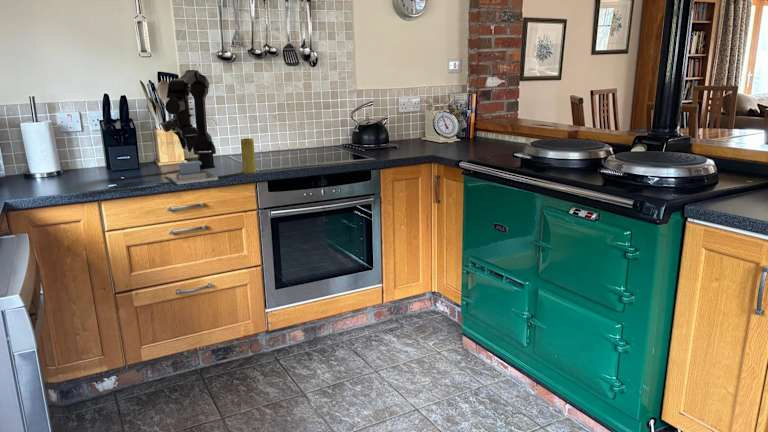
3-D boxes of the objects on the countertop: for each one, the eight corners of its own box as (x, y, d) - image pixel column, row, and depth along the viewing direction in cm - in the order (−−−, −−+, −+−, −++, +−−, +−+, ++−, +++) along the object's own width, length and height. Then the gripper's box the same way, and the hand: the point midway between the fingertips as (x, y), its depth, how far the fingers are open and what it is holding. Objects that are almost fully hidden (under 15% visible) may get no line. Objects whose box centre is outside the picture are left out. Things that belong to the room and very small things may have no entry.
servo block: (200, 175, 237) (198, 159, 235) (203, 176, 233) (201, 160, 232) (178, 177, 232) (176, 161, 230) (180, 179, 229) (178, 163, 227)
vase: (242, 174, 243) (239, 140, 239) (242, 171, 249) (239, 138, 245) (257, 173, 244) (254, 139, 241) (256, 170, 250) (253, 138, 246)
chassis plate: (204, 172, 248) (204, 166, 248) (218, 179, 232) (217, 172, 231) (166, 176, 240) (165, 170, 239) (177, 184, 224) (176, 177, 223)
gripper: (156, 111, 233) (161, 149, 238) (166, 115, 218) (171, 155, 222) (184, 109, 239) (188, 146, 243) (196, 113, 224) (200, 152, 228)
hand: (186, 150), depth 234 cm, fingers open, 9 cm apart
